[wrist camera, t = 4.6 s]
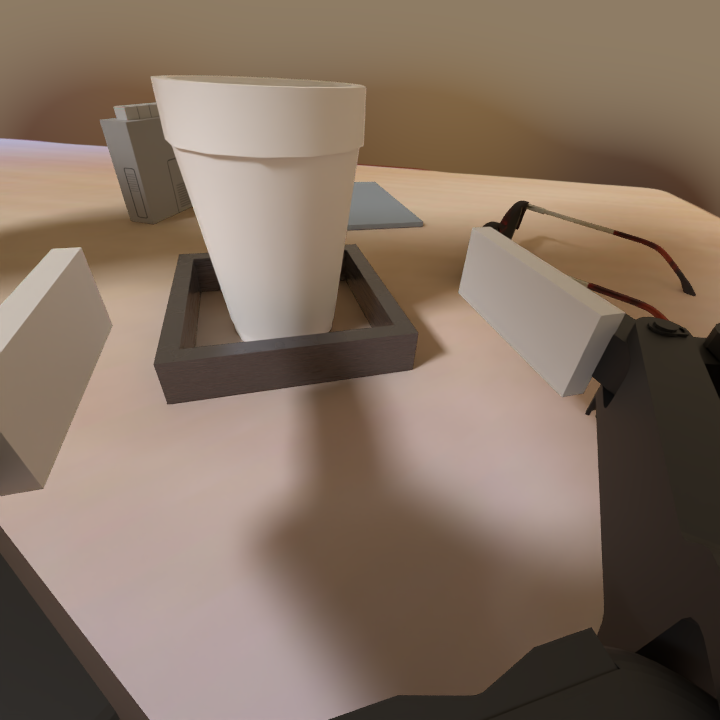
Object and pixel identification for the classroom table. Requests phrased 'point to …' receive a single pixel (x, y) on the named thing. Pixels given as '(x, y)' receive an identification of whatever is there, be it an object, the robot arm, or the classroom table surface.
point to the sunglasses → (519, 208)
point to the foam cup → (268, 189)
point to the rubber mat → (378, 209)
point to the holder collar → (278, 340)
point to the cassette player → (145, 164)
